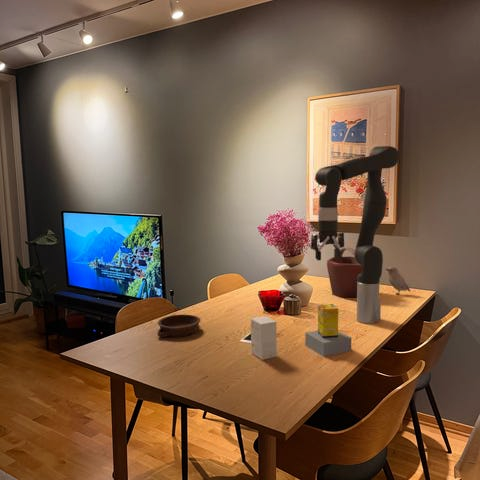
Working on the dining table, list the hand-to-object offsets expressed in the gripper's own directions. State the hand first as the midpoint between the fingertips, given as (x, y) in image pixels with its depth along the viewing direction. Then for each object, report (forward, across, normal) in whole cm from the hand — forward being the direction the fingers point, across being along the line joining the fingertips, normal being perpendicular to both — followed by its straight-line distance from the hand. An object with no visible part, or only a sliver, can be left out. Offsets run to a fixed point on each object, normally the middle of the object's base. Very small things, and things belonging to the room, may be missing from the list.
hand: (327, 259), depth 183 cm
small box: (+30, +34, +10) cm, 47 cm away
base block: (+30, +10, +15) cm, 35 cm away
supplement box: (+25, +10, +15) cm, 31 cm away
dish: (+31, +54, -28) cm, 68 cm away
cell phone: (+31, +28, -8) cm, 42 cm away
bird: (+30, -66, -31) cm, 79 cm away
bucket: (+30, -43, -43) cm, 68 cm away
